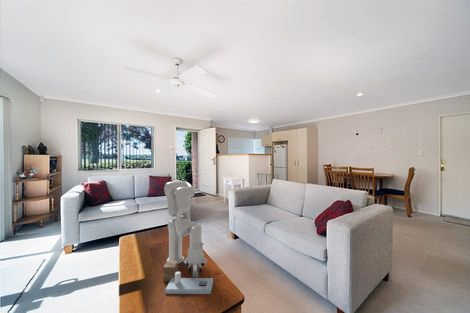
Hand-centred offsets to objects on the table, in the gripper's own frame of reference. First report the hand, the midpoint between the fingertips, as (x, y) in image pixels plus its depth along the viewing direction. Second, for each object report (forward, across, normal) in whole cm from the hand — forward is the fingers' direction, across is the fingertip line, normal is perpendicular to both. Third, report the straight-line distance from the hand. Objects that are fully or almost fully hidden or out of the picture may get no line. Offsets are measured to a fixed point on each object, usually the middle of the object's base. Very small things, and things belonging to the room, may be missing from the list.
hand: (195, 272), depth 118 cm
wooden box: (+3, +16, 0) cm, 16 cm away
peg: (+3, 0, 0) cm, 3 cm away
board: (+3, +1, +9) cm, 10 cm away
